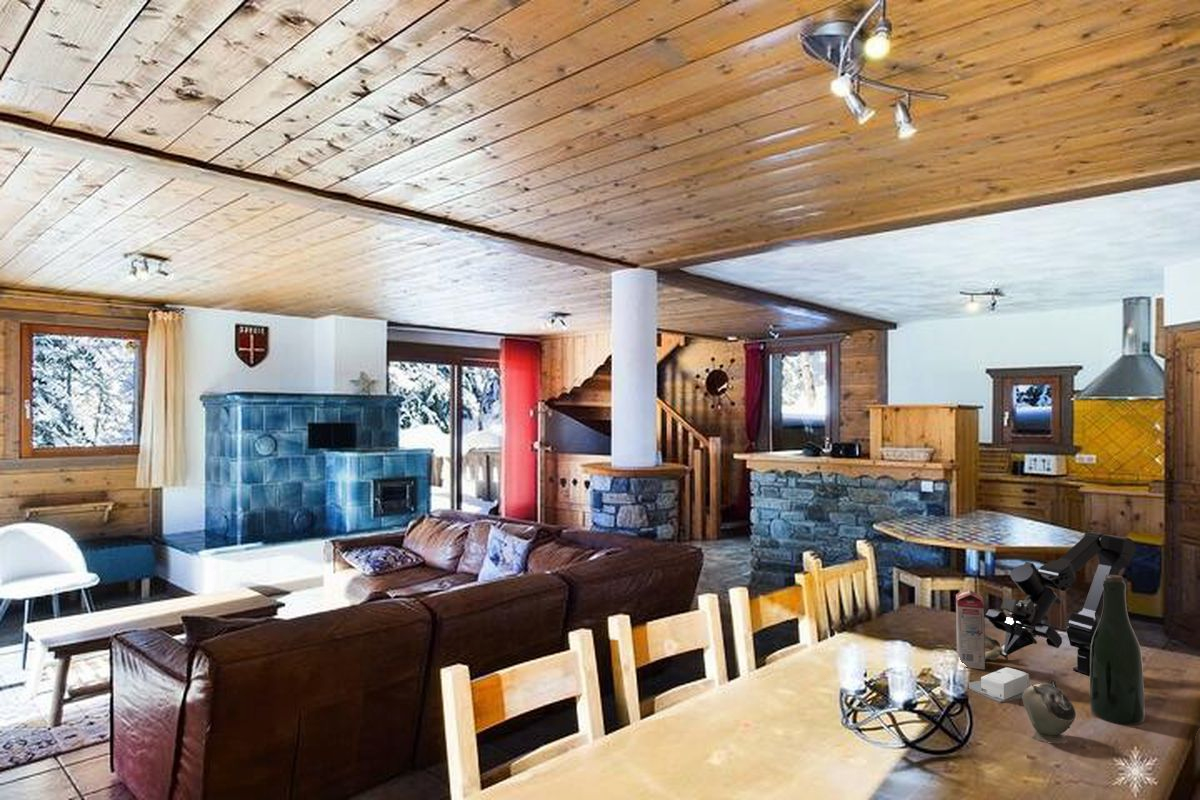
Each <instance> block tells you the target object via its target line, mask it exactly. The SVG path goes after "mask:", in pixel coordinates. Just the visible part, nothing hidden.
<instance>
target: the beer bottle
mask: <svg viewBox="0 0 1200 800" xmlns="http://www.w3.org/2000/svg"><path fill="white" fill-rule="evenodd" d="M1103 588H1104V601H1103V611H1102V615H1101V619H1100V621H1099V623H1098V626H1097V628H1096V630H1095V632H1094V634H1093V637H1092V641H1091V648H1090V675H1089V706H1090V707H1089V709H1090V711H1091V712H1092V714H1094V715H1096V717H1098V718H1100V719H1103V720H1106V721H1109V722H1111V723H1116V724H1124V725H1139V724H1140V723H1143V722H1144V720H1145V710H1146V709H1145V690H1144V689H1145V685H1144V669H1143V667H1144V666H1143V664H1144V663H1143V656H1142V655H1143V654H1142V653H1143V652H1142V650H1141V646H1140V642H1139V640H1138V638H1137V636H1136V634H1135V631H1134V629H1133V627H1132V624H1131V622H1130V618H1129V614H1128V609H1127V600H1126V599H1127V597H1126V590H1127V586H1126V583H1125V581H1124V577H1123V576H1121V575H1119V574H1118V575H1106V580H1104V582H1103Z"/></svg>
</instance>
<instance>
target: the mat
mask: <svg viewBox="0 0 1200 800" xmlns="http://www.w3.org/2000/svg"><path fill="white" fill-rule="evenodd" d="M968 683H969V689H968V690H970V691H973V692H974V693H978V694H979V695H982V696H984V697H987V698H989V699H991V700H993V701H995V702H997V703H1006V702H1010V701H1015V700H1021V699H1022V694H1023V692H1022V693H1020V694H1017V695H1015V696H1013V697H1010V698H1008V699H1005V700H1003V699H1000V698H996V697H992V696H990V695H987V694H984V693H981V679H980V680H975V681H970V682H968Z"/></svg>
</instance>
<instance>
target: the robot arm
mask: <svg viewBox="0 0 1200 800" xmlns="http://www.w3.org/2000/svg"><path fill="white" fill-rule="evenodd" d="M1136 552H1137V546H1136V544H1135V543H1134V541H1133V539H1132V538H1129V537H1124V536H1117V535H1111V534H1104V533H1100V532H1093V531H1088V532H1085V533H1084V534H1083V537H1082V538H1081V539H1080V540H1078V542H1077V543H1076V544H1074V545H1073V546H1072V547H1071V548H1070V549H1069V550H1068V551H1066V552H1065V553H1064V554H1063V555H1062V556H1061V557H1060V558H1058V559H1055V560H1051V561H1048V562H1046V563H1044V564H1043V565H1041V566H1040V567H1039V568H1037V567H1036V566H1035V563H1032V562H1028V561H1025V563H1024V564H1020V565H1018V566H1016V567H1014V568H1012V569H1011V572H1010V578H1011V580H1012V581H1013V582H1014V584H1016V586H1017V587H1018V588H1019V590H1021V592H1022V593H1023V594H1025V595H1027V597H1025V598H1024V600H1022V599H1020V600H1016V599H1013V598H1011V597H1010V598H1009V597H1006V596H1004V597H1003V600H1002V602H1001V605H1000V609H1001V610H1005V611H1006V612H1008V615H1009V616H1010V617H1008V616H1007V614H1005V612H1003V611H1001V610H998V609H994V608H990V609H988V610H987V611H986V613H985V614H984V617H986V618H987V619H988V621H989V622H990V623H991V624H992V625H993V627H994V628H996V629H998V630H1000V631H1003V632H1005V640H1004V645H1005V646H1004V653H1005V654H1008V656H1009V654H1010V655H1011V654H1013V653H1015V652H1017V651H1019V650H1021V649H1024V648H1025V647H1028V646H1031V645H1033V644H1035V645H1037V644H1038V641H1037V640H1038V638H1040V637H1041V638H1045V639H1046V640H1045V642H1046V645H1048V646H1050V647H1053V648H1056V649H1059V648H1060V647H1061V645H1062V643H1063V638H1062V636H1061V635H1060V634H1059V632H1058V631H1057V630H1056V629H1055V628H1054V627H1053V626H1051V625H1049V624H1045V623H1042V622H1043V621H1044V622H1047V621H1048V619H1049V617H1048V616H1047V614H1048V612H1049V611H1050V610H1051V608H1052V606H1053V605H1054V604H1055V605H1060V606H1061V604H1062V601H1061V599H1060V594H1059V593H1057V592H1054V590H1058V591H1062V592H1066V591H1068V590H1070V588H1071V587H1072V586H1073V584H1074V583H1075V582H1076V580H1077V577H1076V576H1077V573H1079V572H1078V571H1080V570H1081V569H1082V568H1084V566H1085V565H1086V564H1087V563H1089V561H1091V560H1092V559H1093V558H1094V557H1095V556H1096V558H1097V560H1098V565H1097V567H1096V571H1095V574H1094V577H1093V578H1092V582H1091V585H1090V587H1089V591H1088V594H1087V596H1086V598H1085V599H1086V600H1085V602H1084V605H1083V608H1082V610H1080V611H1079V612H1074V611H1073V612H1072V613H1071V614H1070V617H1069V621H1068V622H1067V624H1066V627H1067V628H1066V634H1067V635H1066V636H1067V639H1068V642H1069V645H1070V647H1075V648H1077V655H1076V657H1077V658H1076V663H1077V664H1076V665H1077V666H1075V667H1074V666H1073V667H1072V670H1073V671H1075V672H1079V673H1081V674H1084V675H1087V676H1090V648H1091V641H1092V637H1093V634H1094V632H1095V630H1096V628H1097V626H1098V623H1099V621H1100V619H1101V615H1102V611H1103V601H1104V588H1103V582H1104V580H1106V575H1118V576H1119V574H1120V572H1121V570H1122V569H1124V568H1125V567H1126V566H1128V565H1129V564H1131V561H1132V560H1133V557H1134V556H1135V553H1136Z"/></svg>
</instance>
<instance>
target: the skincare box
mask: <svg viewBox="0 0 1200 800" xmlns="http://www.w3.org/2000/svg"><path fill="white" fill-rule="evenodd" d="M980 680H981V693H984V694H987V695H990V696H992V697H996V698H1000V699H1003V700H1005V699H1008V698H1010V697H1013V696H1015V695H1017V694H1020V693H1022V692H1024V691H1025V690H1026V689H1027V688H1028V687H1030V674H1029V673H1027V672H1025V671H1022V670H1018V669H1014V668H1011V667H1004V668H1000V669H998V670H996V671H995V670H994V671H993V672H990V673H988V674H986V675H983V676H981V677H980Z"/></svg>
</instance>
